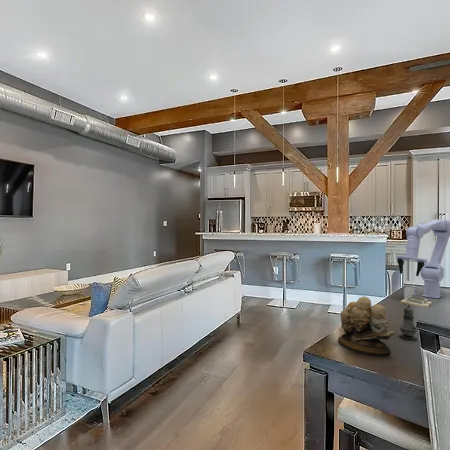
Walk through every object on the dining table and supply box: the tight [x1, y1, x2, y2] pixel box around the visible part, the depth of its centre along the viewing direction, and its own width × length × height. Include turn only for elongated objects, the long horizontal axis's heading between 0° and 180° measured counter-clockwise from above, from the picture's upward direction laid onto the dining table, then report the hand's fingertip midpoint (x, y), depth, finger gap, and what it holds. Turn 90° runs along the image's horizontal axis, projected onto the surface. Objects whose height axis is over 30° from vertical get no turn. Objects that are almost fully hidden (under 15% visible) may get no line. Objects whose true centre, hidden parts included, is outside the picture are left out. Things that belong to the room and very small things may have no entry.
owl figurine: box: [337, 296, 395, 357], centre depth 108 cm, size 18×12×17 cm, turn 42°
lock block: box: [403, 286, 417, 299], centre depth 174 cm, size 4×4×6 cm
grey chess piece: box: [398, 304, 418, 340], centre depth 117 cm, size 6×6×12 cm
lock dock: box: [399, 296, 434, 309], centre depth 165 cm, size 11×12×2 cm
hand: (408, 274), depth 171 cm, fingers open, 7 cm apart
